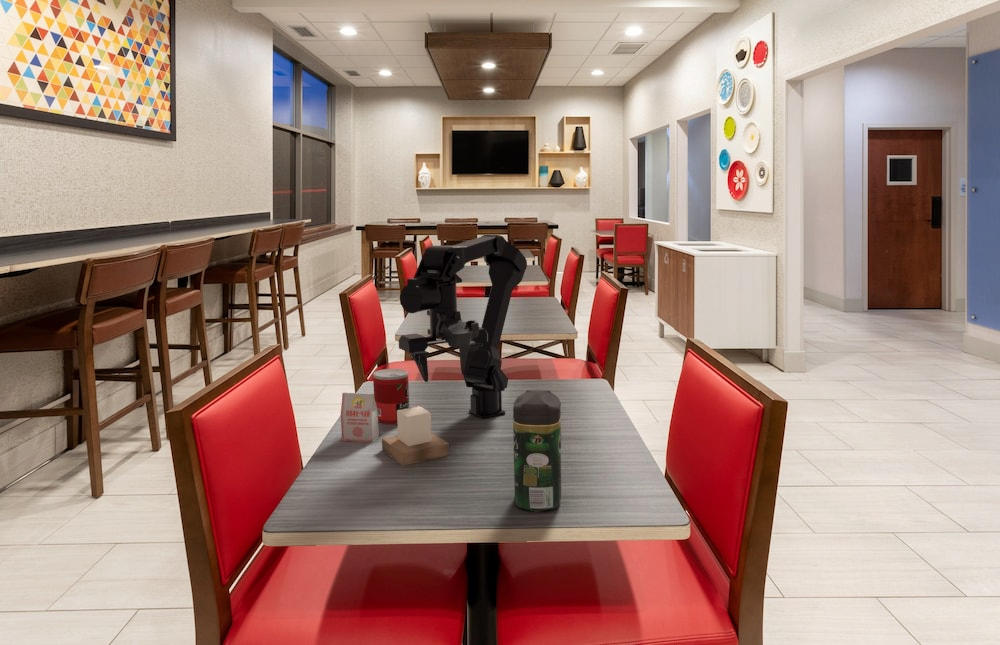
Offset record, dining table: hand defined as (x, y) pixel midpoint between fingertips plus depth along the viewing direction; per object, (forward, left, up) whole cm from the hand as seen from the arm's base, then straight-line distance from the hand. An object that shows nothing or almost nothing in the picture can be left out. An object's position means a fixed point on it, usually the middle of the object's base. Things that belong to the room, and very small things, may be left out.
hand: (445, 378), depth 151 cm
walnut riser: (+11, +7, -13) cm, 18 cm away
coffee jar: (+4, +39, -12) cm, 41 cm away
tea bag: (+17, -7, -12) cm, 22 cm away
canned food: (+6, -15, -12) cm, 20 cm away
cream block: (+11, +7, -10) cm, 16 cm away
